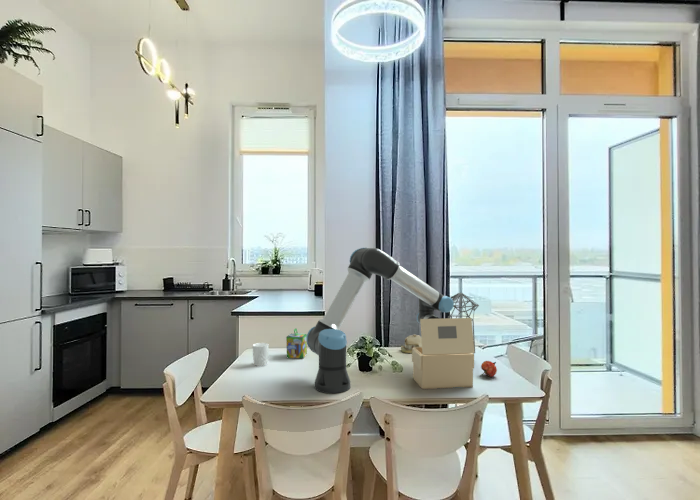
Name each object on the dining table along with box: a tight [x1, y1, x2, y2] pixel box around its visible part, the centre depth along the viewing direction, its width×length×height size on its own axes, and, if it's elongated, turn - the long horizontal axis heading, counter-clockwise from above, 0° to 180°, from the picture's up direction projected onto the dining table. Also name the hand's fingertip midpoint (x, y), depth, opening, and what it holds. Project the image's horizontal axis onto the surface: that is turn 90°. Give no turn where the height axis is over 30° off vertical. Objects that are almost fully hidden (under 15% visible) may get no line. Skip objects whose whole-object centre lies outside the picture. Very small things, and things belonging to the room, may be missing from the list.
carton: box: [411, 347, 475, 390], centre depth 180 cm, size 23×14×14 cm, turn 97°
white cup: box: [252, 342, 270, 367], centre depth 207 cm, size 8×8×10 cm
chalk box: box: [285, 328, 308, 359], centre depth 222 cm, size 9×9×15 cm
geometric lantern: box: [447, 292, 480, 355], centre depth 217 cm, size 16×16×35 cm
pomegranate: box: [479, 360, 498, 378], centre depth 189 cm, size 7×7×10 cm
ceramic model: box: [400, 333, 422, 354], centre depth 233 cm, size 14×11×10 cm
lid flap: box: [420, 317, 476, 355], centre depth 174 cm, size 22×15×1 cm
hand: (451, 334), depth 175 cm, fingers closed
